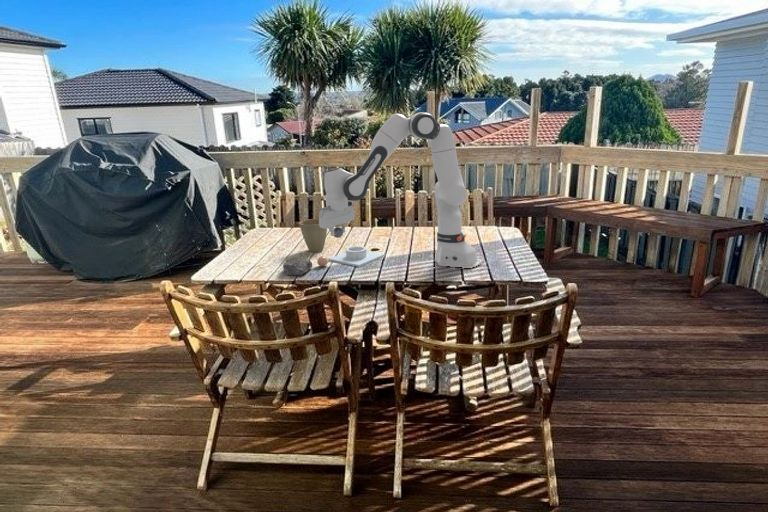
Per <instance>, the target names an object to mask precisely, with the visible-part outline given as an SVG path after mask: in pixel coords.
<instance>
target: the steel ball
mask: <svg viewBox="0 0 768 512" xmlns="http://www.w3.org/2000/svg"><path fill="white" fill-rule="evenodd" d="M333 230H334V232H336V235H335V236H333V237H334V238H336V239H339V238H342V236H343V235H344V233H343V230H342V228H341V227H340V226H335V227H334V229H333Z"/></svg>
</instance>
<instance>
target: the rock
mask: <svg viewBox="0 0 768 512" xmlns="http://www.w3.org/2000/svg"><path fill="white" fill-rule="evenodd" d="M282 266H283V267H282V268H283V274H284V275H286V276H302V275H304V274H306V273H308V271H309V270H310V269H312V268H313V262H312V261H311V259H310V258H307V257H300V256H296V255H295V256H291V257H289V258H287V259H285V262H283V264H282Z"/></svg>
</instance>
